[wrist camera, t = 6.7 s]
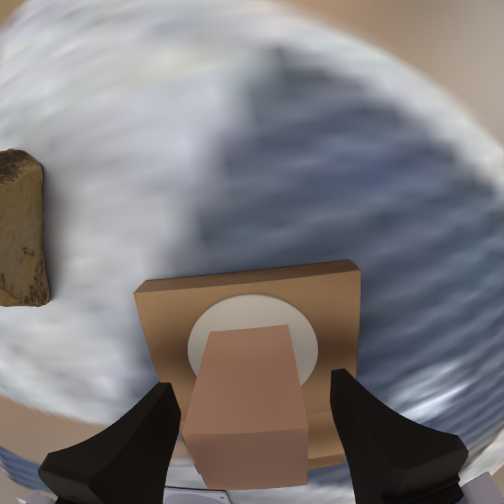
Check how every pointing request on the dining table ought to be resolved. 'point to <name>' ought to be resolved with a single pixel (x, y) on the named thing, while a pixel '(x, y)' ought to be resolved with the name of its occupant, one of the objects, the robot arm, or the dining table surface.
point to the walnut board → (277, 284)
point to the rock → (21, 231)
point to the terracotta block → (248, 412)
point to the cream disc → (256, 326)
